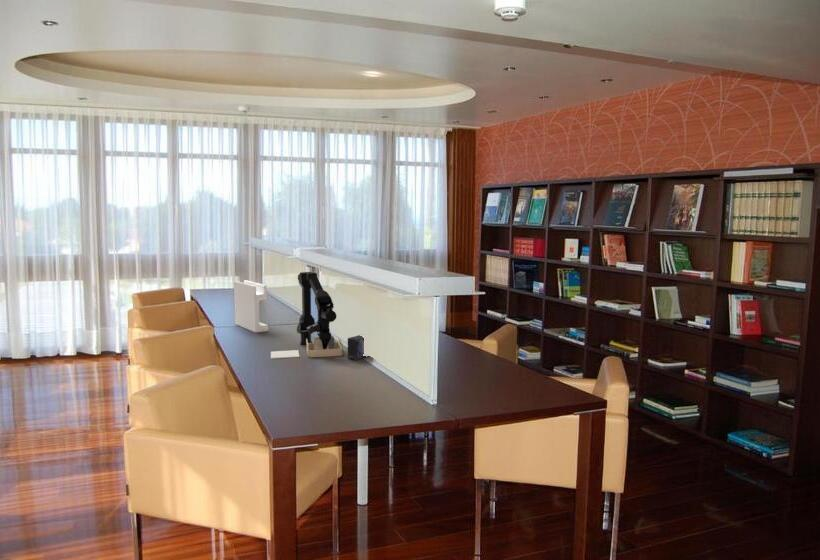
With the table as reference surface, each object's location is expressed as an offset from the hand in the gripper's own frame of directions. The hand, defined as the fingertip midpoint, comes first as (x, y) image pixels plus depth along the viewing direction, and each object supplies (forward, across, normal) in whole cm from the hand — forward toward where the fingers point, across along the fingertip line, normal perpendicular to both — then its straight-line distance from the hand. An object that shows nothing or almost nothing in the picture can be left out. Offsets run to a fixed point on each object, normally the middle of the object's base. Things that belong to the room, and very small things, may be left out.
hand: (324, 348), depth 327 cm
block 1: (+2, -81, -39) cm, 90 cm away
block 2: (+2, 0, 0) cm, 2 cm away
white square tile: (+2, 0, -20) cm, 20 cm away
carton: (+2, 0, 0) cm, 2 cm away
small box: (+2, +15, +16) cm, 22 cm away
